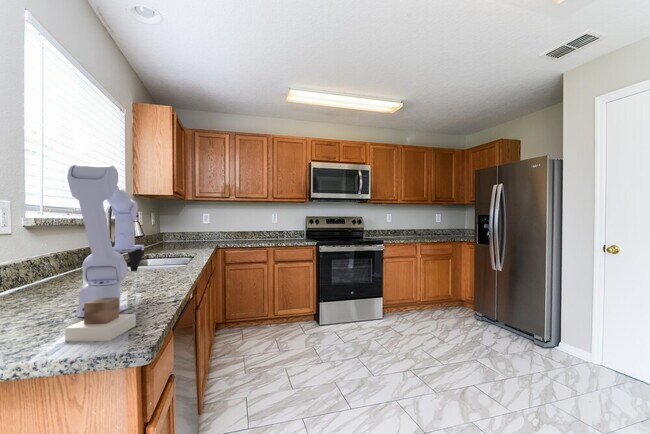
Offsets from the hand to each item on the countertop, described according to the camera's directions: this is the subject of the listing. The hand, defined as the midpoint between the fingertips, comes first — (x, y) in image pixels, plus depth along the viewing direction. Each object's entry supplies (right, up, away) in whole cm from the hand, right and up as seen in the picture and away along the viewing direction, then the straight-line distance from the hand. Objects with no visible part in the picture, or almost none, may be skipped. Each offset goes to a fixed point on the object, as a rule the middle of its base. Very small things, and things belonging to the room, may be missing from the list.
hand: (124, 272), depth 105 cm
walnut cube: (+15, -6, -30) cm, 34 cm away
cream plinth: (+15, -10, -31) cm, 35 cm away
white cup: (-21, -10, +14) cm, 28 cm away
